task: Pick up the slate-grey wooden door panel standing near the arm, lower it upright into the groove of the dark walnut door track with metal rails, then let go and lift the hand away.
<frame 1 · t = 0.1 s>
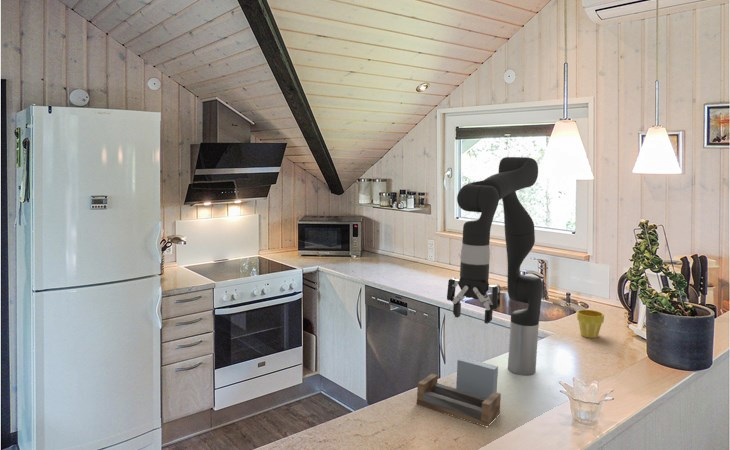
hand: (472, 319, 140), 29 cm above the worktop, tool pointing down, fingers open, 8 cm apart
door panel: (475, 394, 161), on the worktop
door track: (457, 409, 151), on the worktop
plant pot: (588, 335, 218), on the worktop
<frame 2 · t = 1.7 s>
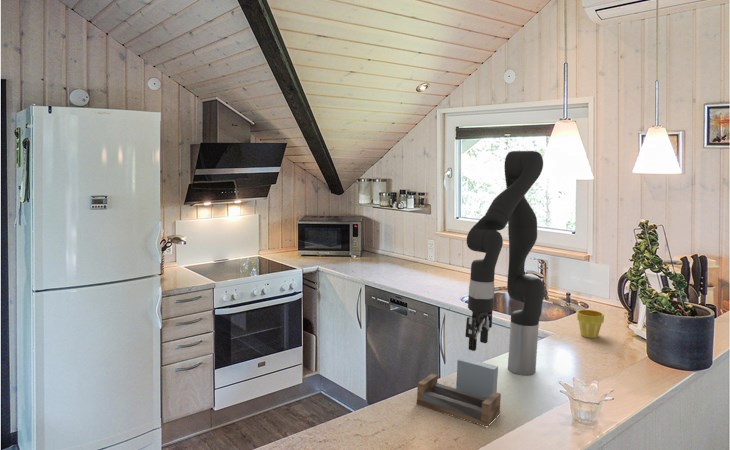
hand: (478, 346, 159), 15 cm above the worktop, tool pointing down, fingers open, 8 cm apart
nothing on the worktop moved.
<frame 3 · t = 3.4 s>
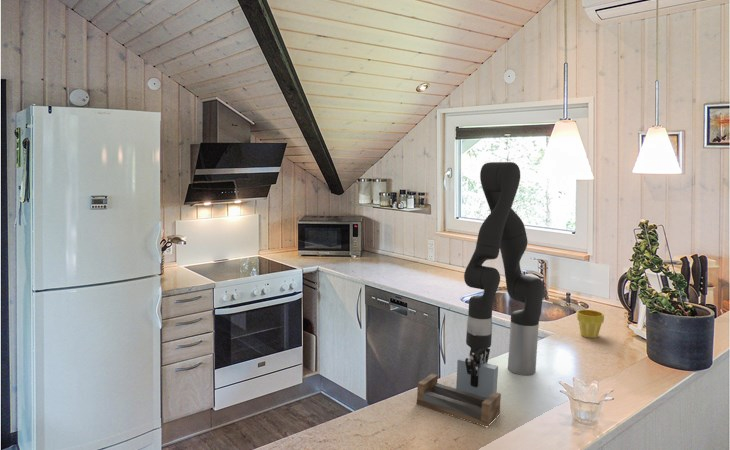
hand: (476, 384, 161), 3 cm above the worktop, tool pointing down, fingers closed on door panel, 3 cm apart
door panel: (475, 393, 161), on the worktop, touching gripper
everything else where it was.
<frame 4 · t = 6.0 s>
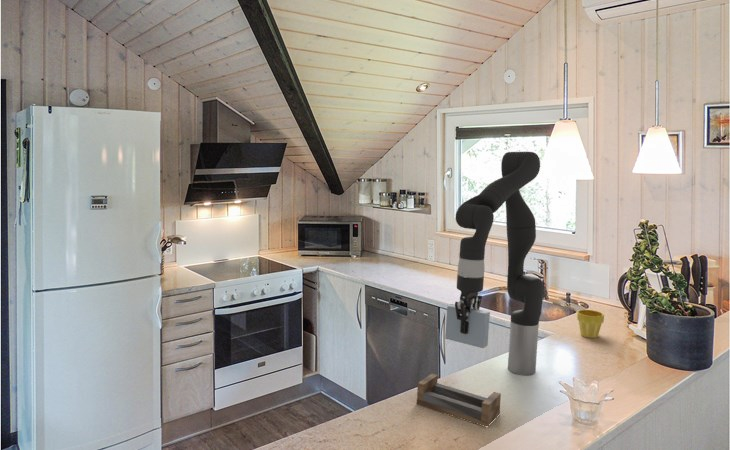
hand: (466, 331, 152), 22 cm above the worktop, tool pointing down, fingers closed on door panel, 3 cm apart
door panel: (466, 342, 152), point 19 cm above the worktop, touching gripper
everything else where it was.
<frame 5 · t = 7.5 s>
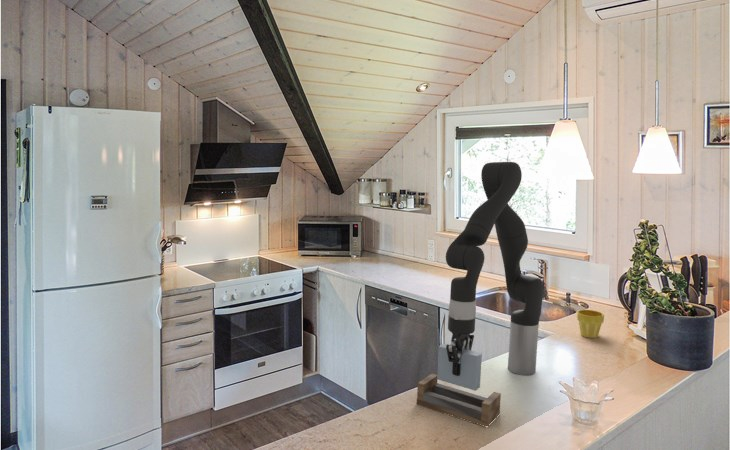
hand: (458, 372, 149), 11 cm above the worktop, tool pointing down, fingers closed on door panel, 3 cm apart
door panel: (458, 383, 150), point 8 cm above the worktop, touching gripper
everything else where it was.
when the fingers open (6 cm above the worktop, at t = 8.8 s): door panel stays where it is, resting on door track.
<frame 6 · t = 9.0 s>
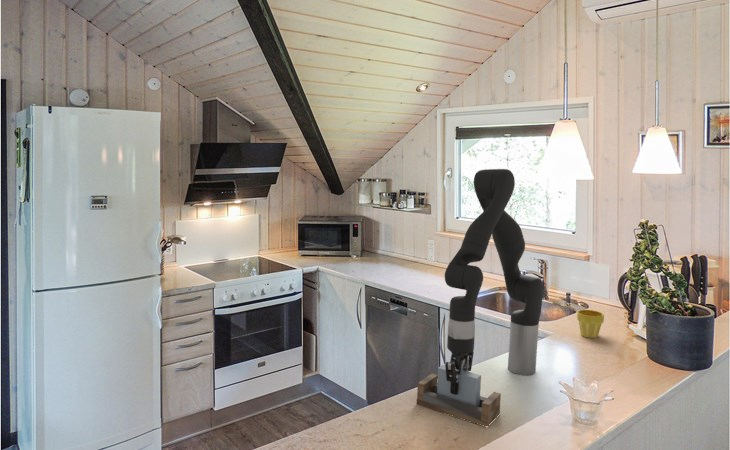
hand: (458, 390, 150), 6 cm above the worktop, tool pointing down, fingers open, 5 cm apart
door panel: (457, 404, 151), point 1 cm above the worktop, touching door track
everything else where it was.
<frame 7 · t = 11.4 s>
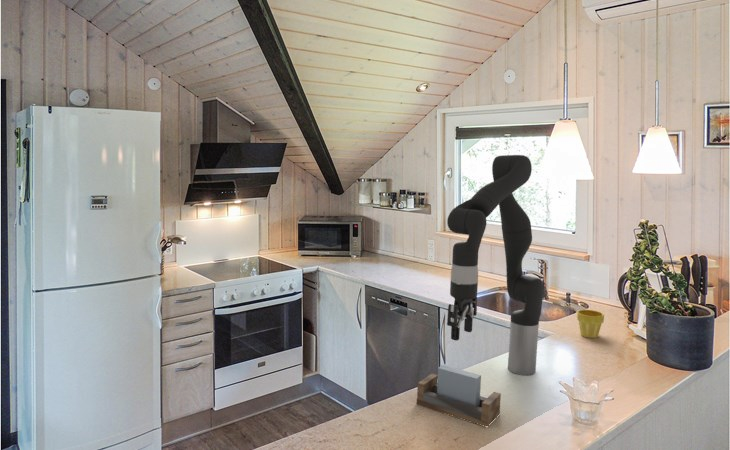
hand: (461, 335, 148), 22 cm above the worktop, tool pointing down, fingers open, 8 cm apart
nothing on the worktop moved.
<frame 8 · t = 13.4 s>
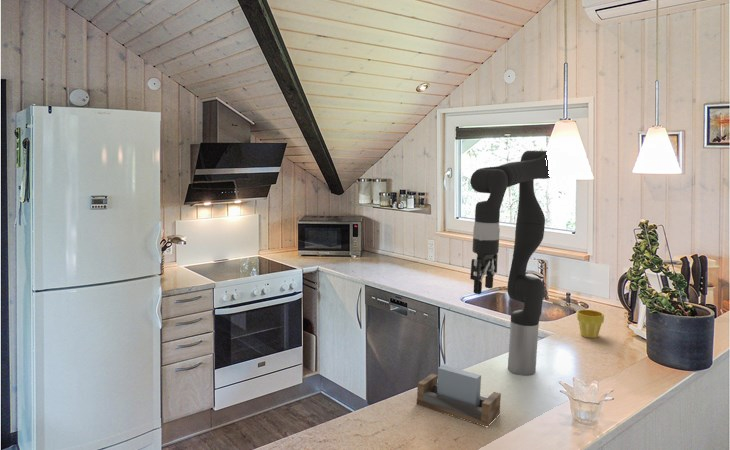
hand: (483, 290, 156), 33 cm above the worktop, tool pointing down, fingers open, 8 cm apart
nothing on the worktop moved.
at the end: door panel inside the target area on the door track (0.1 cm from its centre), point 1.5 cm above the door track's base; door panel tilted 0°; the gripper is holding nothing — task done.
